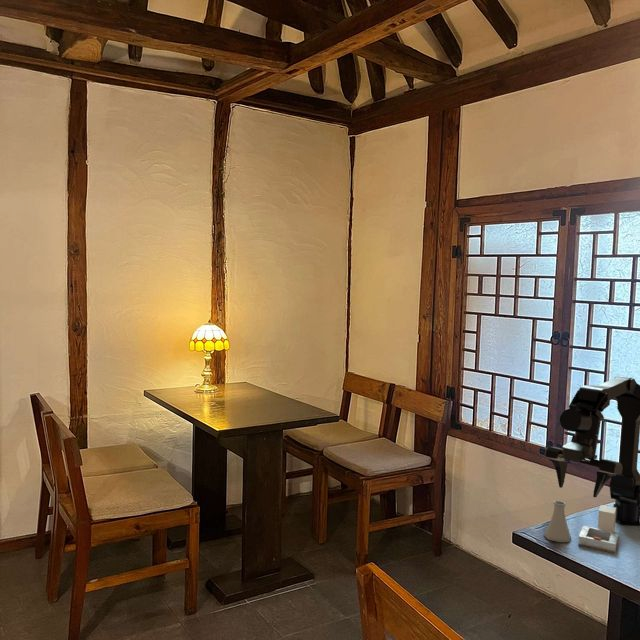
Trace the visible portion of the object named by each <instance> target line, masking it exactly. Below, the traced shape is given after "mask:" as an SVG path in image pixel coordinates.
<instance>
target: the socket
mask: <svg viewBox="0 0 640 640" xmlns="http://www.w3.org/2000/svg"><path fill="white" fill-rule="evenodd" d="M577 543H578V544H577V546H579V545H581V547H584V546H585V547H586V548H588V547H589V548H588V549H594V550H598V551H603V552H606V553H611V554H616V551H617V547H618V544H619V532H617V531H615V532H612V531H608V530H603V529H598V527H593V526H587V525H584V524H583V525H582V528H581V531H580V532H579V534H578V542H577ZM585 547H584V548H585Z"/></svg>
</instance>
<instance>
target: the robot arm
mask: <svg viewBox="0 0 640 640" xmlns="http://www.w3.org/2000/svg"><path fill="white" fill-rule="evenodd" d="M614 399H615V401H616V403H617V404H616V407H617V411H618V412H619V415H620V416H621V418H622V422H621V423H622V424H621V435H620V436H621V437H620V447H619V457H618V459H619V461H615V460H612V459H605V458H600V460H599V459H598V455H597V446H598V445H599V444H600V441H601V440H600V439H599V434H600V428H601V422H602V420H604V418H605V416H604V414H603V413H602V412H604V410H606V409H607V408H608V407H609V406H610V405H611V404H610V403H611V400H614ZM559 424H560V426H561V427H562V428H563V429H564V430H565V431H568V432H573V433H574V434H572V436H571V440H570V441H568V442H567V443H565V444H564V445H562V447H558V446H557V447H556V446H547V447H546V449H545V450H544V457H546V458H548V461H550V462H551V463H552V464H553V466H554V468H555V472H556V476H557V481H558V482H557V483H558V487H559V488H560V489H561V488H564V487H563V486H564V484H565V478H566V473H567V469H568V463H569V462H568V461H572V462H575V463H576V462H577V463H581V464H584V465H587V466H588V465H589V466H592V467H596V468H599V470H596V471H595V472H596V479H595V484H594V490H593V498H597V497H598V496H599V494H600V492H602V491H601V490H602V489H603V488H604V486H605V484H606V483H607V482H608V481H609V480H610V482H609V494H610V499H611V500H614V501H615V502H614V503H613V505H612V507H615V508H616V520H615V522H617V523H619V524H620V525H623V526H640V472H639V470H638V458H639V449H640V447H639V446H640V384H639V383H637V381H636V379H635V378H633V377H629V376H624V375H623V376H622V375H617V376H616V375H615V376H614V378H612V379H610V380H608V381H605V382H603V383H600V384H597V385H593V384H591V385H589V384H588V385H587V384H586V385H582V386H580V387H579V389H577V391H576V393H575V394H574V396H573V397H572V400H571V401H570V403H569V405H568V408H567V409H565V410H564V411H563V412H561V414H560V415H559ZM566 460H567V461H566Z"/></svg>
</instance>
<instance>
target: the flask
mask: <svg viewBox="0 0 640 640" xmlns="http://www.w3.org/2000/svg"><path fill="white" fill-rule="evenodd" d="M566 504H567V503H566V502H565V501H561V500H553V505H554V506H553V513H552V516H551V519H550V521H549V523H548V525H547V528H546V530H545V532H544V534H543V537H545V538H546V539H547V540H548V541H554V542H556V543H570V542H571V540H572V536H571V533H570V529H569V526H568V522H567V518H566V514H565V507H566Z"/></svg>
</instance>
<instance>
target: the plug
mask: <svg viewBox="0 0 640 640" xmlns="http://www.w3.org/2000/svg"><path fill="white" fill-rule="evenodd" d="M597 516H598V517H597V528H598V529H603V530H608V531H612V532H616V508H615V507H613V506H609V505H604V504H600V507H599V509H598V515H597Z"/></svg>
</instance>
